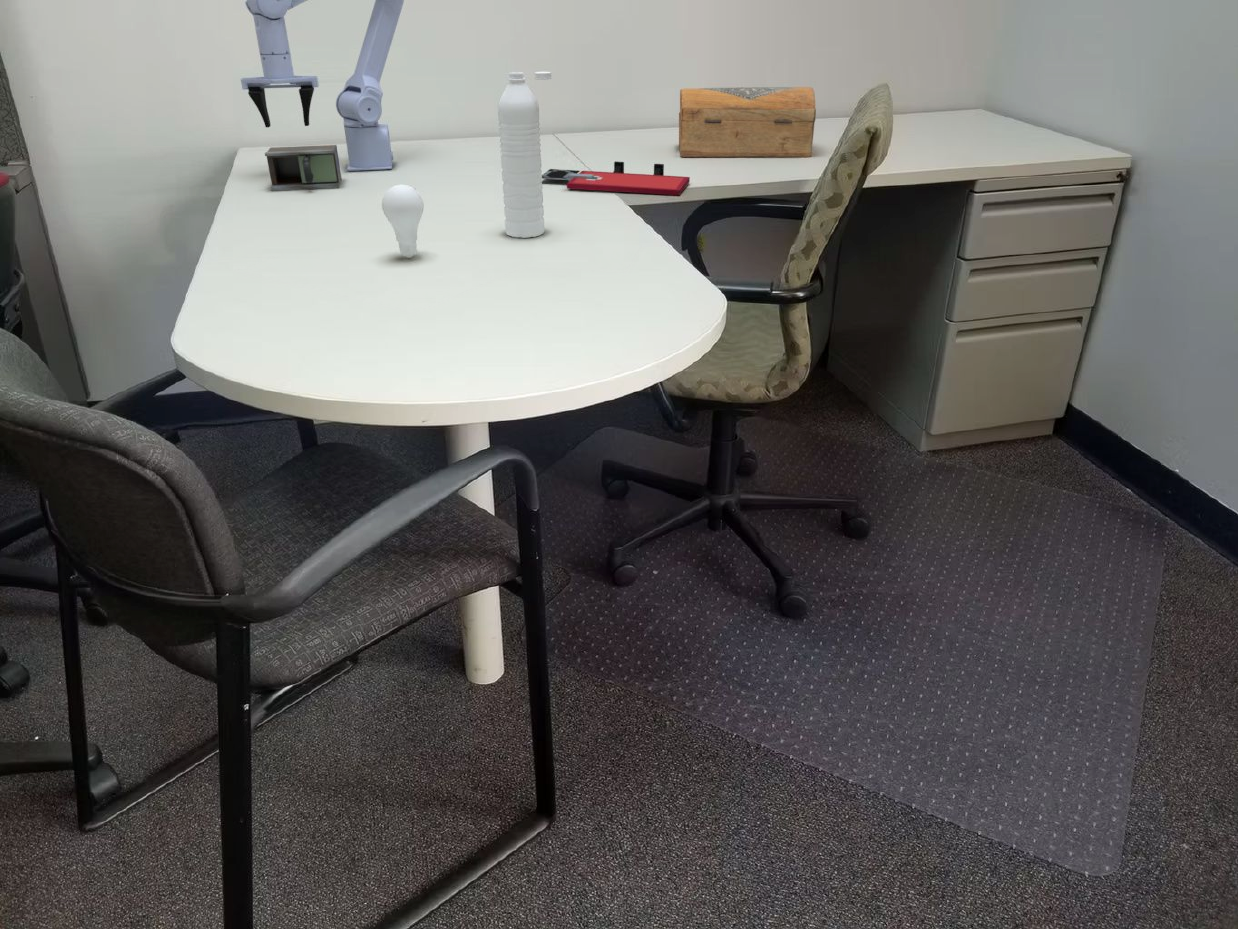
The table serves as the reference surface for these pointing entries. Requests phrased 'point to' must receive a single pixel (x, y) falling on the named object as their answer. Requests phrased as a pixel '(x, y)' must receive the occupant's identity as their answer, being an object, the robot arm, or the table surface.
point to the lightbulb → (404, 216)
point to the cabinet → (297, 167)
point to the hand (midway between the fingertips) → (287, 125)
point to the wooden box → (747, 122)
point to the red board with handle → (622, 180)
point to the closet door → (317, 168)
